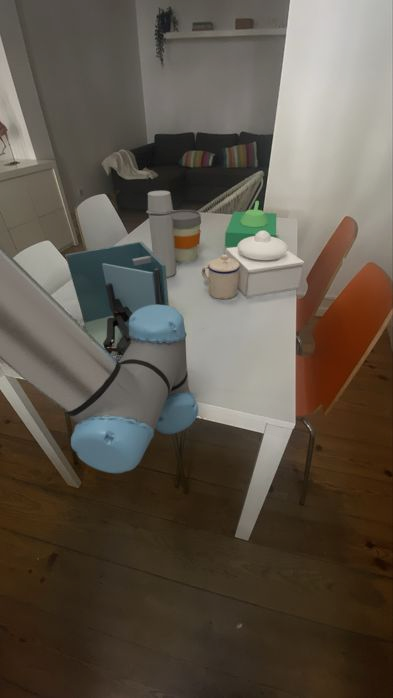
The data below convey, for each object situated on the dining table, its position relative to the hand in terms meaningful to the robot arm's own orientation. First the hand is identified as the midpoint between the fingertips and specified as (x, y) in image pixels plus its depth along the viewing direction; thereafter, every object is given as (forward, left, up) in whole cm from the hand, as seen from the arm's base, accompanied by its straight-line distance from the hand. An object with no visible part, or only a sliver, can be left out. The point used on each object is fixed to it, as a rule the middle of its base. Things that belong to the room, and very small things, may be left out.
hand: (116, 304), depth 76 cm
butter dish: (+47, +8, -8) cm, 48 cm away
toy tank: (+65, +40, -8) cm, 77 cm away
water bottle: (+22, +28, -8) cm, 36 cm away
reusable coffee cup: (+34, +38, -8) cm, 51 cm away
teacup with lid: (+32, +8, -8) cm, 34 cm away
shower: (+1, 0, -8) cm, 8 cm away
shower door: (+3, -3, -7) cm, 8 cm away
